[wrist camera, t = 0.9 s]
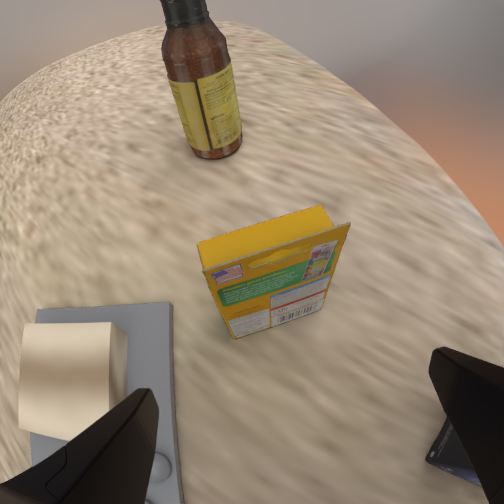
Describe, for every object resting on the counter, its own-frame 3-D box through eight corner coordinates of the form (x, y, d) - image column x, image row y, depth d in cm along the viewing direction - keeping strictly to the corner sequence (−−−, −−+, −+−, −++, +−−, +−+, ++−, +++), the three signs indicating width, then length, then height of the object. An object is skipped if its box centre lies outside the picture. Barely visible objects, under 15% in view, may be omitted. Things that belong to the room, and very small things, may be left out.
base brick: (129, 445, 18) (110, 447, 15) (41, 430, 18) (18, 428, 16) (128, 333, 23) (111, 322, 20) (44, 334, 23) (24, 323, 20)
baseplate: (189, 541, 15) (183, 549, 13) (45, 509, 15) (33, 512, 13) (172, 305, 25) (166, 297, 23) (43, 312, 25) (32, 306, 23)
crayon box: (307, 277, 25) (327, 179, 15) (322, 309, 24) (355, 224, 14) (222, 305, 25) (186, 220, 14) (233, 340, 23) (201, 274, 13)
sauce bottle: (244, 126, 36) (227, -31, 18) (242, 161, 32) (220, -23, 15) (191, 130, 36) (157, -20, 19) (183, 164, 33) (135, -7, 16)
